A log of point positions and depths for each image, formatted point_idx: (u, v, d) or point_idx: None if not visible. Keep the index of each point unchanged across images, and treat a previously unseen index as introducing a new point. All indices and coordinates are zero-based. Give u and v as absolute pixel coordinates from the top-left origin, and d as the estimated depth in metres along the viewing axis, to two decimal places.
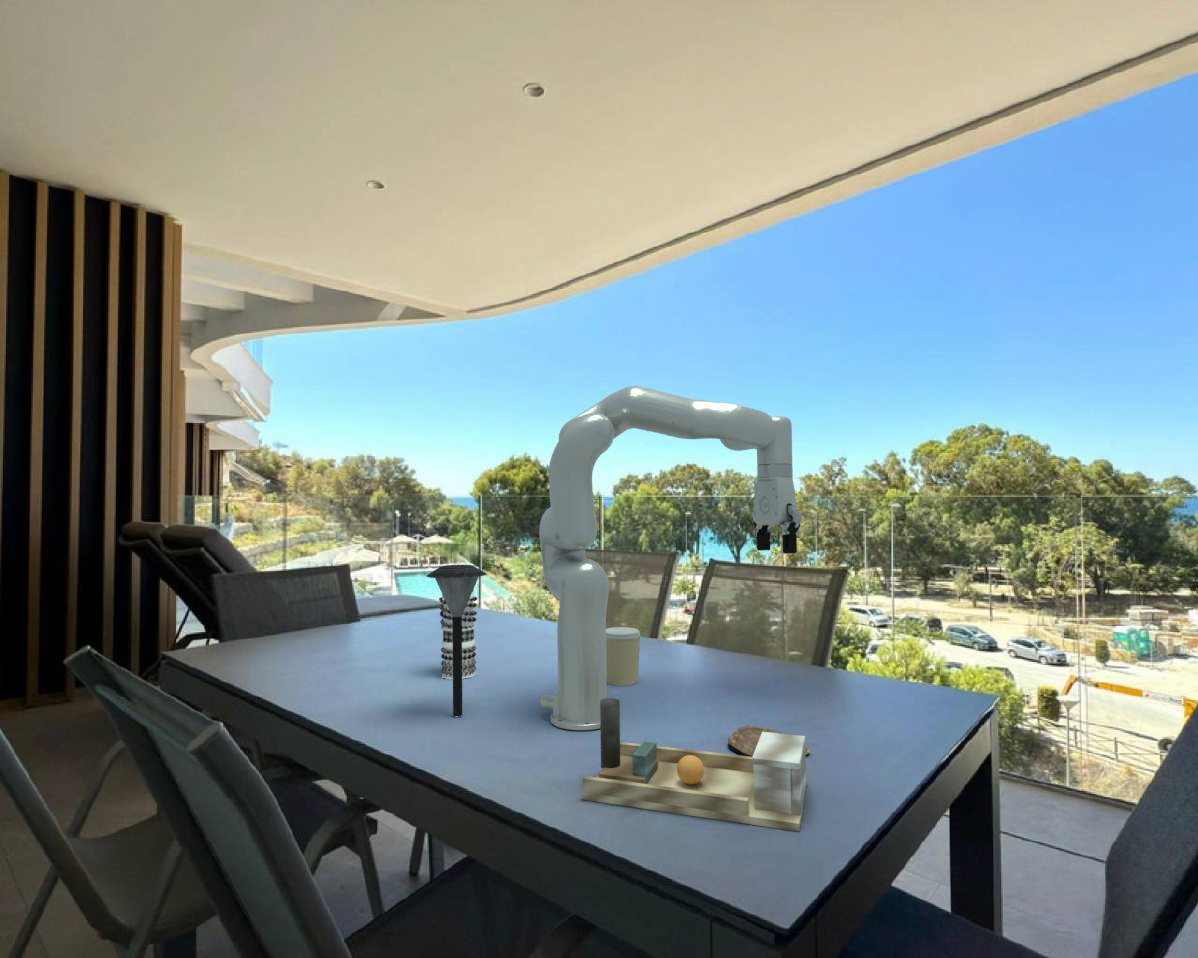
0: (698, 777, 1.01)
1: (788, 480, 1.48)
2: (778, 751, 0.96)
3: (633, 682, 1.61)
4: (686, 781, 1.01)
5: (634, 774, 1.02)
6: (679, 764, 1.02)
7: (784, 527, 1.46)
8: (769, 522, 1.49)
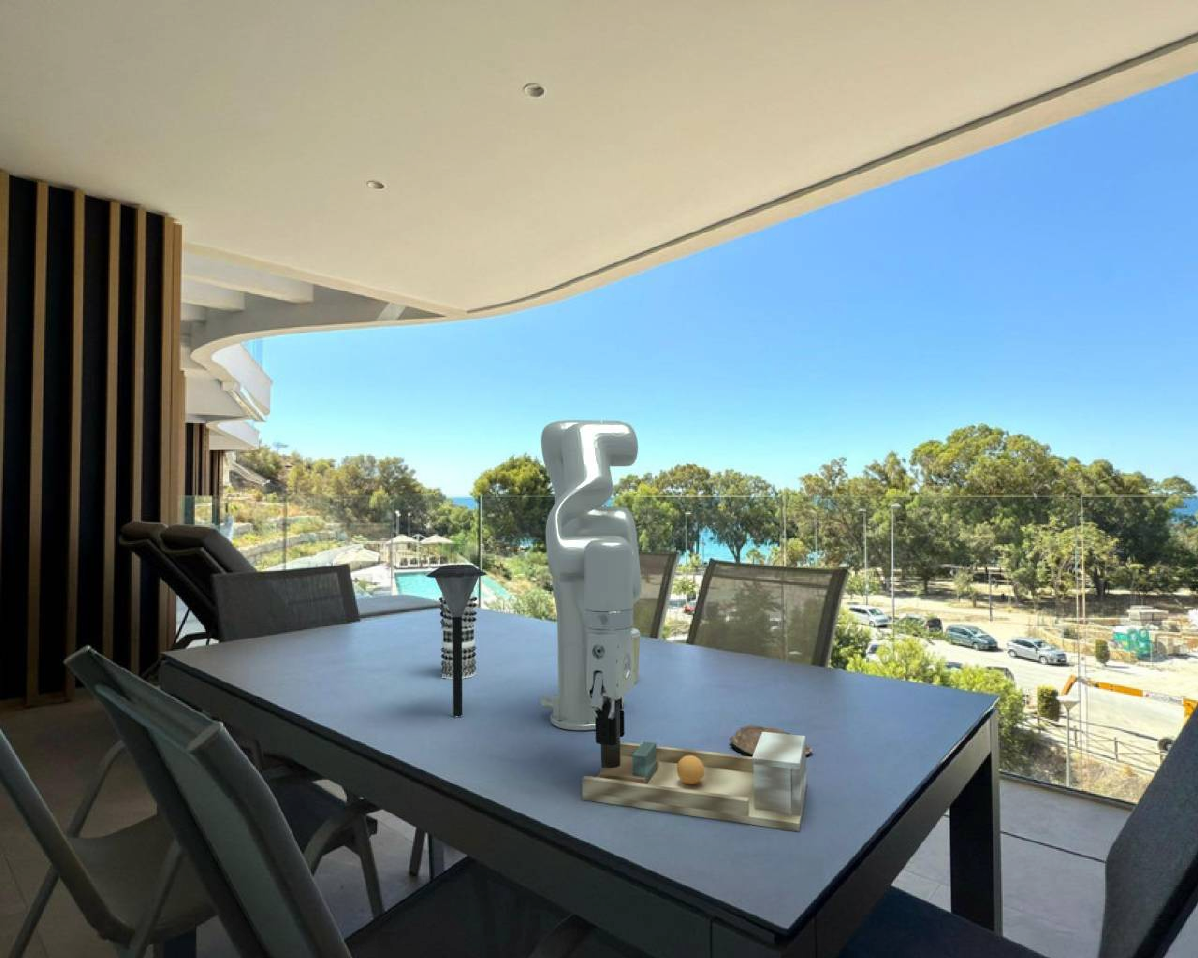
0: (698, 777, 1.01)
1: None
2: (778, 751, 0.96)
3: None
4: (686, 781, 1.01)
5: (634, 774, 1.02)
6: (679, 764, 1.02)
7: (623, 699, 1.09)
8: (630, 687, 1.08)
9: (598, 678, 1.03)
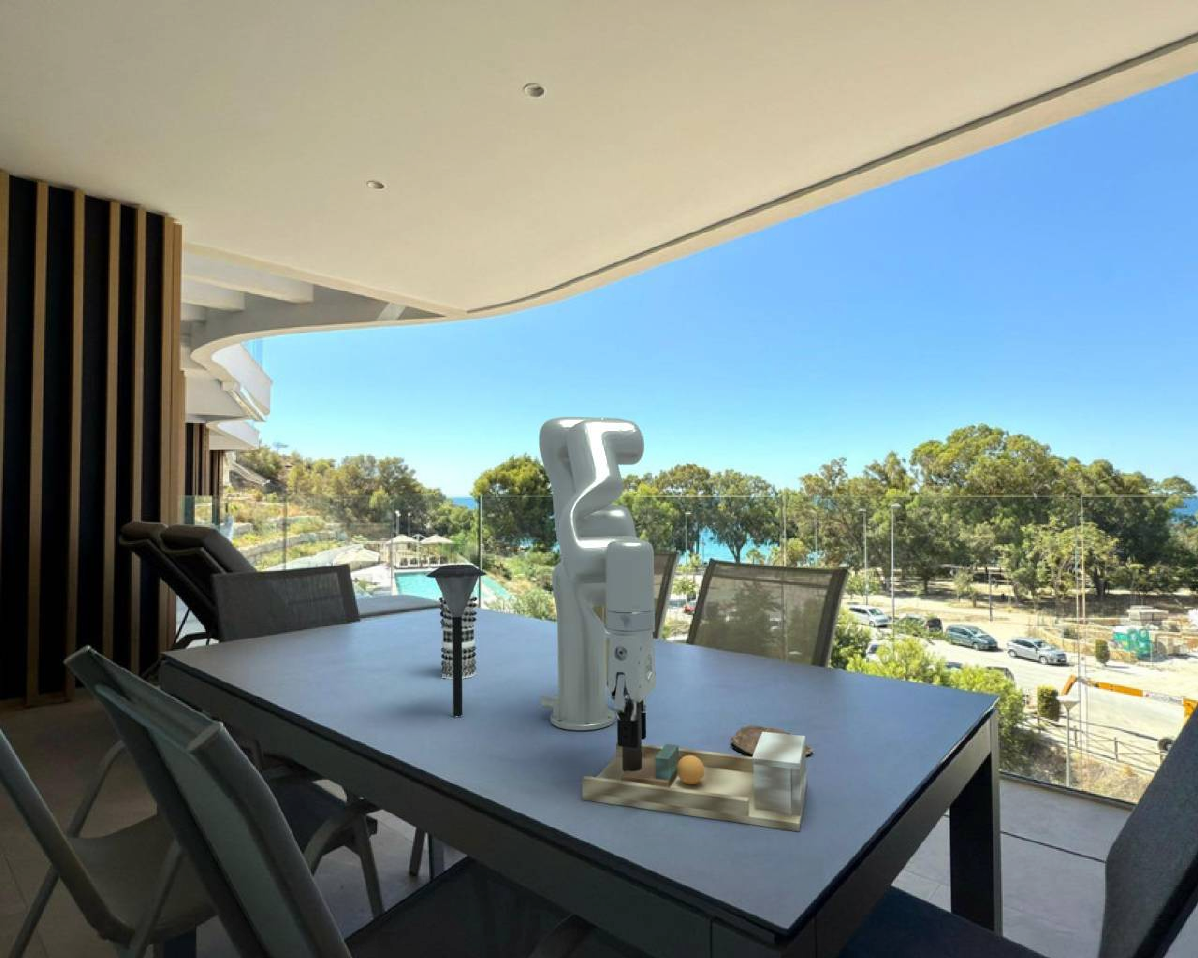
0: (698, 777, 1.01)
1: None
2: (778, 751, 0.96)
3: None
4: (686, 781, 1.01)
5: (657, 777, 1.01)
6: (679, 764, 1.02)
7: (644, 701, 1.08)
8: (652, 689, 1.06)
9: (620, 680, 1.01)
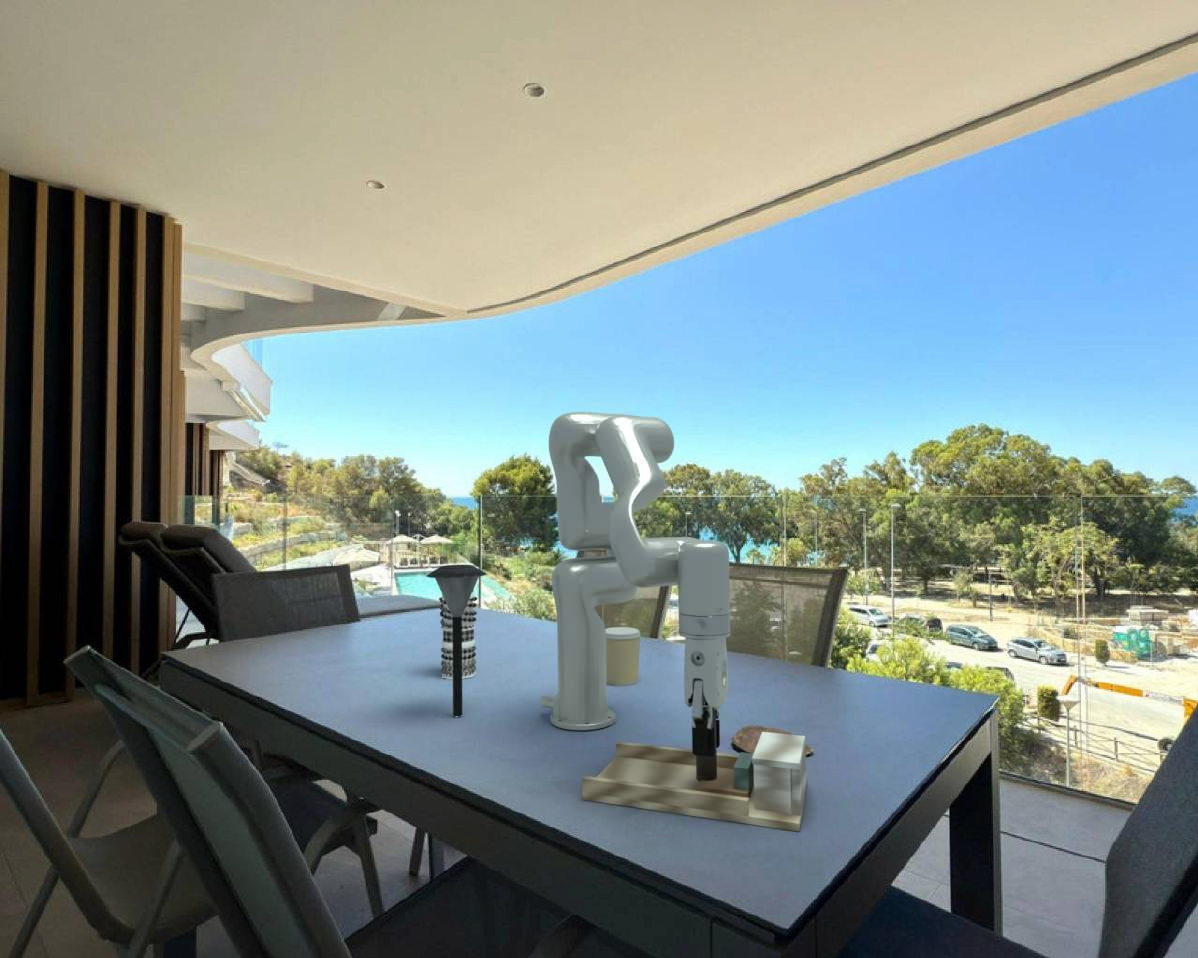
0: None
1: None
2: (778, 751, 0.96)
3: (633, 682, 1.61)
4: None
5: (736, 787, 0.97)
6: None
7: None
8: (726, 695, 1.02)
9: (697, 686, 0.97)
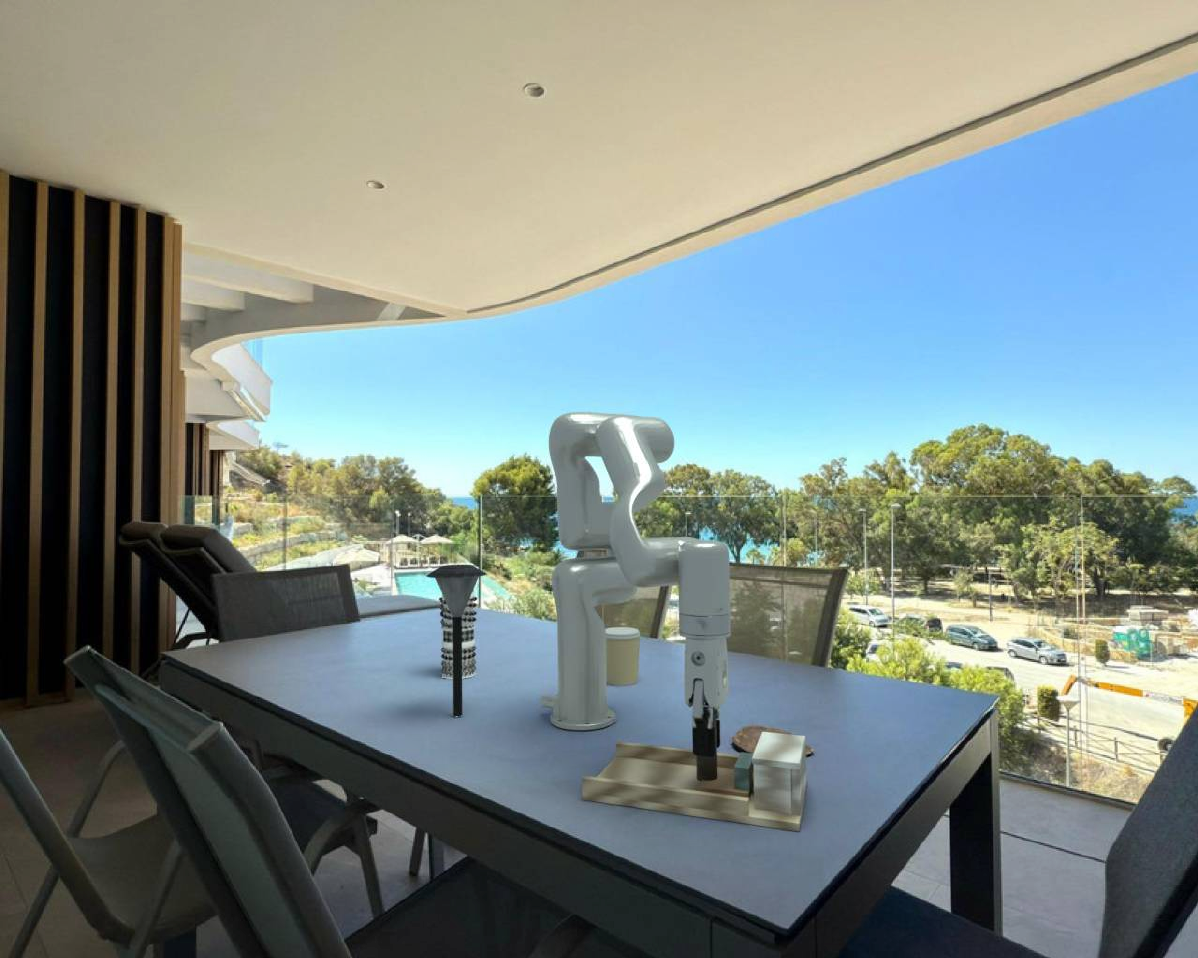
0: None
1: None
2: (778, 751, 0.96)
3: (633, 682, 1.61)
4: None
5: (736, 787, 0.97)
6: None
7: (718, 708, 1.04)
8: (727, 695, 1.02)
9: (698, 686, 0.97)
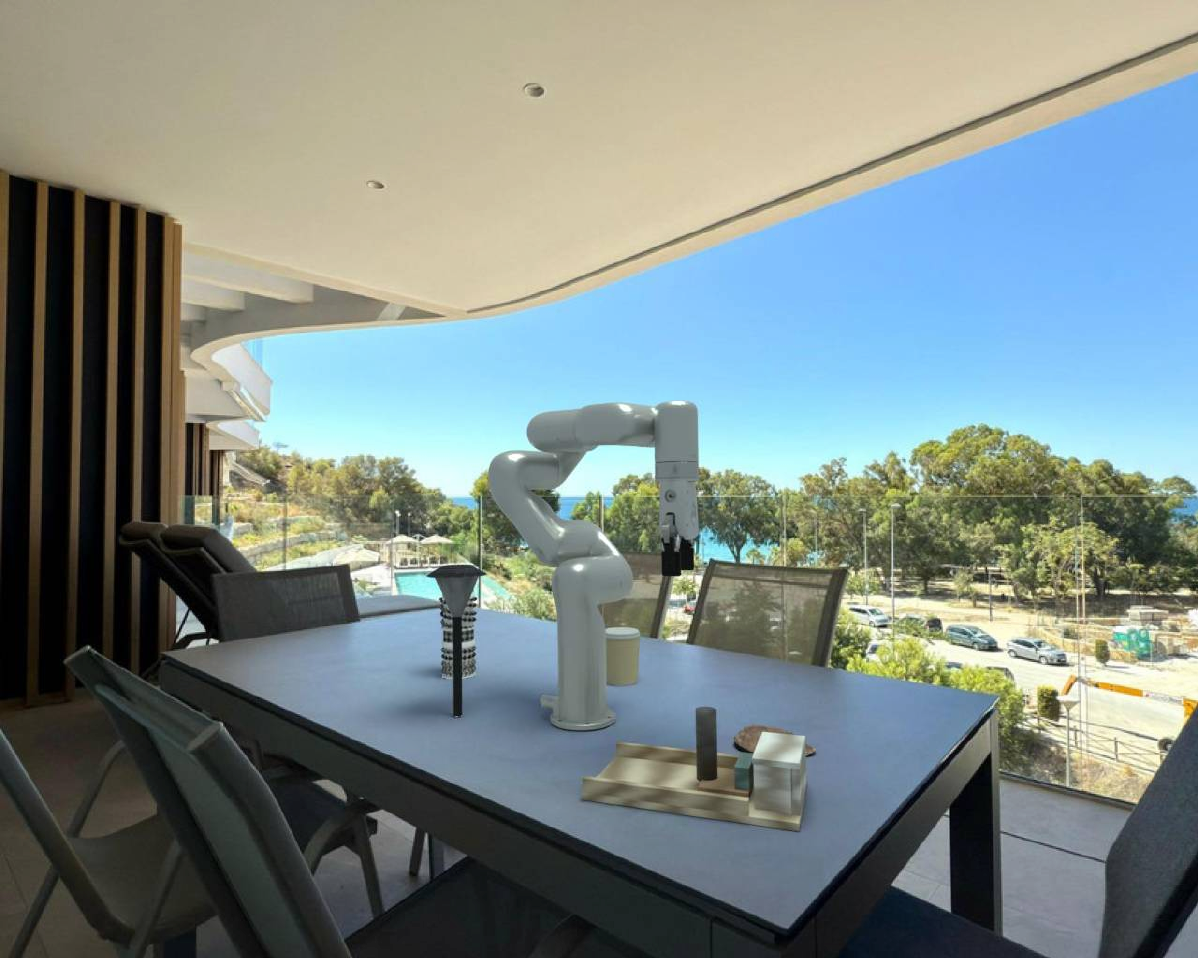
0: None
1: None
2: (778, 751, 0.96)
3: (633, 682, 1.61)
4: None
5: (736, 787, 0.97)
6: None
7: (692, 539, 1.23)
8: (696, 534, 1.20)
9: None
